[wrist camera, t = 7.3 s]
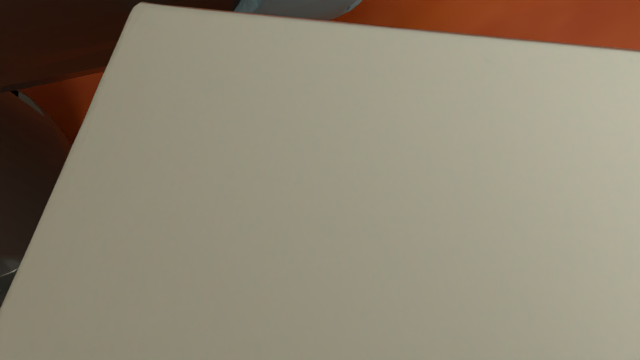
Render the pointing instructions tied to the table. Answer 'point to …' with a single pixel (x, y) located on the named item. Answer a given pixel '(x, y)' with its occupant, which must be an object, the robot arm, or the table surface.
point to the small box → (339, 199)
